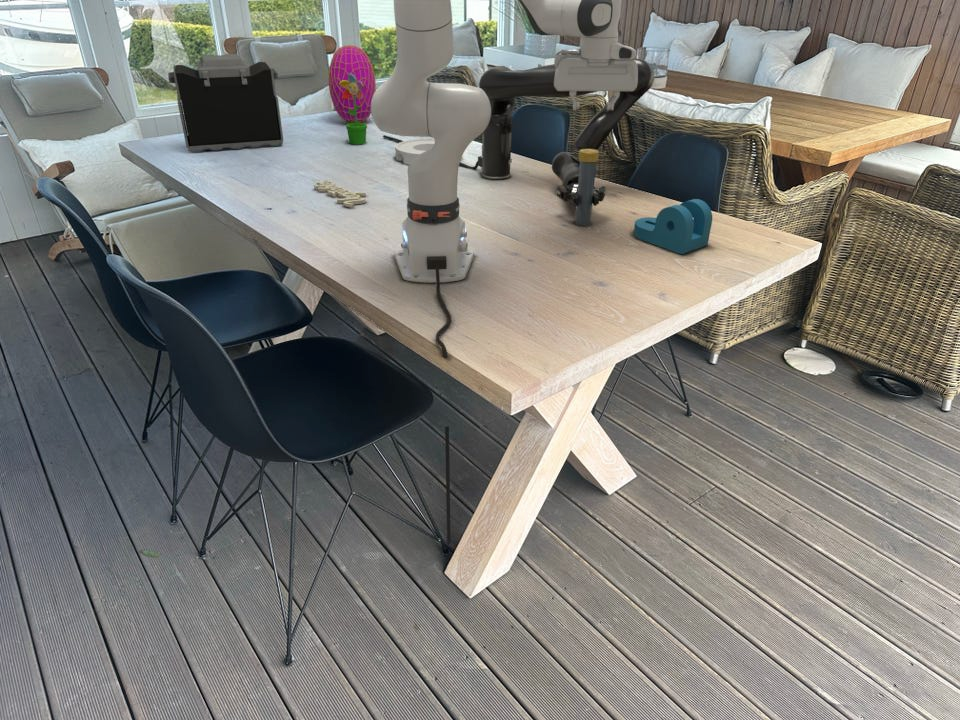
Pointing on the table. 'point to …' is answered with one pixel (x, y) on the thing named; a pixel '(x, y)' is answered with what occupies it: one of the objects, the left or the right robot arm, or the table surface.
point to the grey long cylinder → (585, 193)
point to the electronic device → (227, 103)
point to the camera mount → (677, 227)
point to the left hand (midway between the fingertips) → (592, 110)
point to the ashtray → (412, 149)
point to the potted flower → (354, 129)
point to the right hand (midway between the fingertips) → (586, 202)
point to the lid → (588, 155)
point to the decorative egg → (340, 66)
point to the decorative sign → (340, 193)
